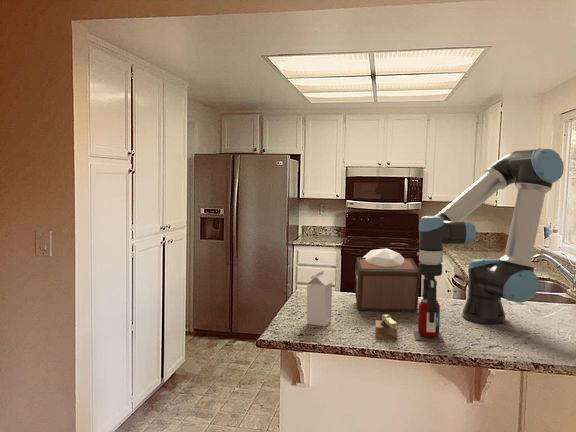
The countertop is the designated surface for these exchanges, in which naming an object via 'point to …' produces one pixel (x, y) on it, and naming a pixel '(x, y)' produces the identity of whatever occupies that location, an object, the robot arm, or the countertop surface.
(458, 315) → the countertop surface
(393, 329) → the pedestal
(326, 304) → the milk carton
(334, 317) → the countertop surface
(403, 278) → the tissue box
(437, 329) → the beverage can
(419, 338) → the mat
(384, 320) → the lever
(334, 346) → the countertop surface
